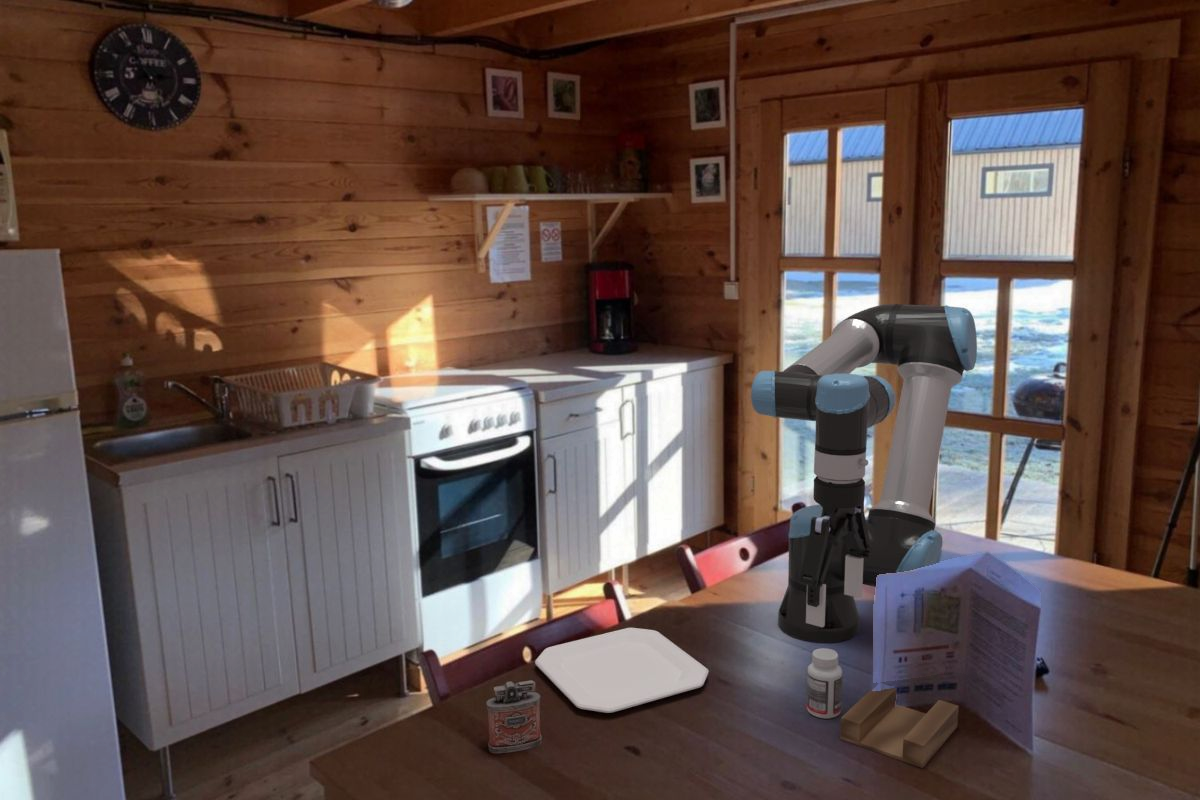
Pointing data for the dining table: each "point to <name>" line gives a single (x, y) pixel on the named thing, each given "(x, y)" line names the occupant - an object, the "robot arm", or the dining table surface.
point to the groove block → (898, 727)
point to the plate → (620, 669)
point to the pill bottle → (824, 684)
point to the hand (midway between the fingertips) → (834, 609)
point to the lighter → (514, 718)
